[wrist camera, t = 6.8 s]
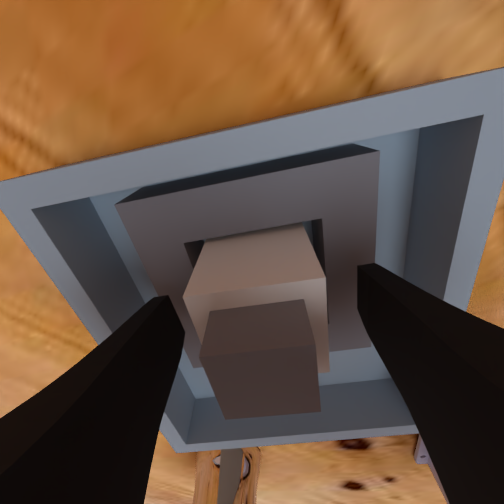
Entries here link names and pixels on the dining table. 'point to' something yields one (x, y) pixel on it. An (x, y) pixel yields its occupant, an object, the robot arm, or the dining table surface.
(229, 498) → the beer glass
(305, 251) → the plug
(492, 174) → the inlet box
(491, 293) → the dining table surface
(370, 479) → the dining table surface
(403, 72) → the dining table surface
